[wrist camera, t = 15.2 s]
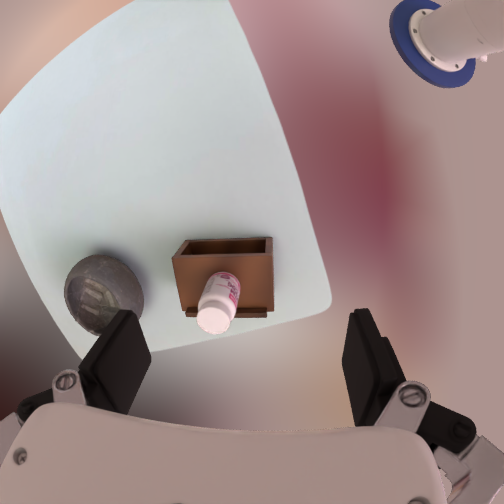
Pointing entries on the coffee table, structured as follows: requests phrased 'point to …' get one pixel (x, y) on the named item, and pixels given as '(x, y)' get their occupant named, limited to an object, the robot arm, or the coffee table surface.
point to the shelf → (231, 261)
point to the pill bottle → (218, 303)
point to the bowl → (101, 292)
